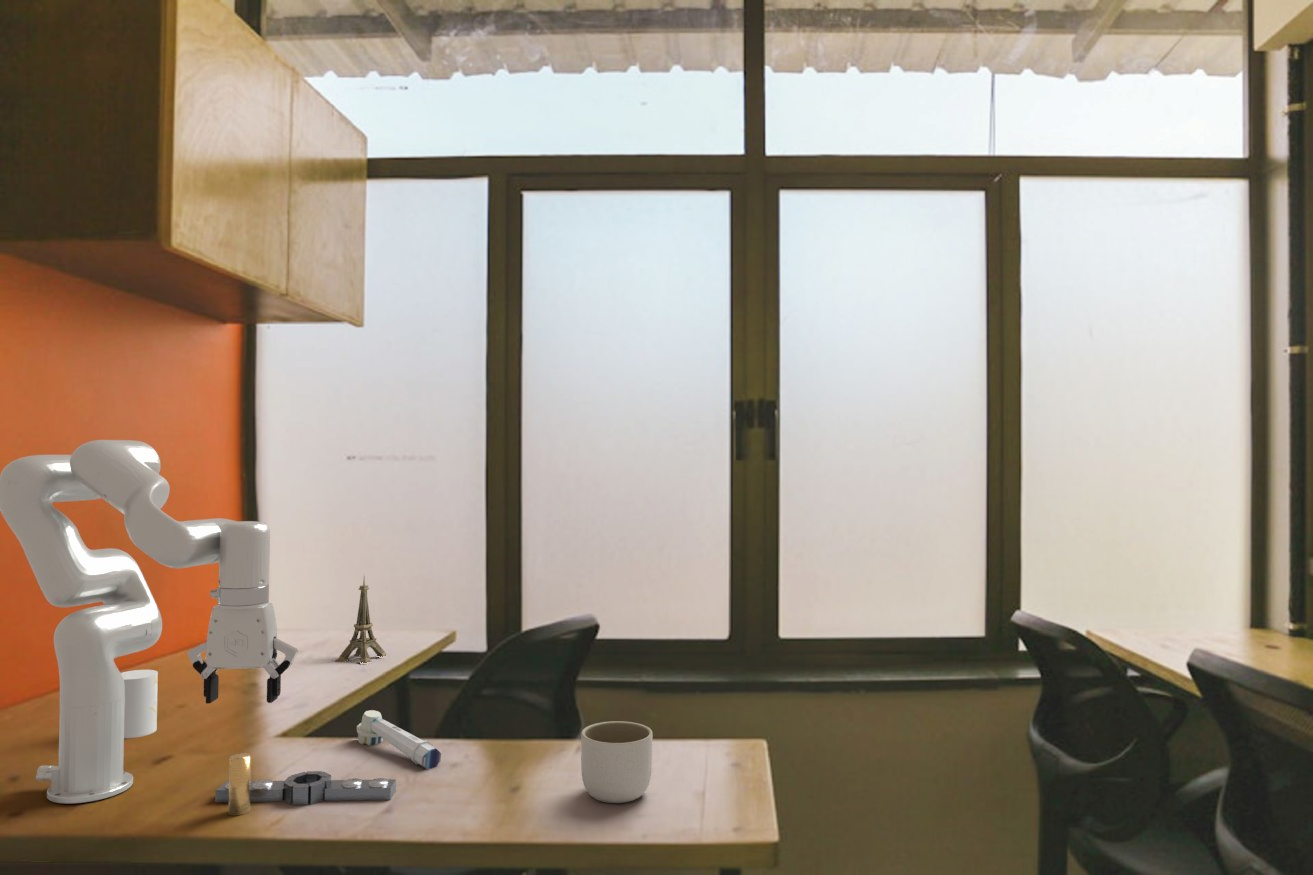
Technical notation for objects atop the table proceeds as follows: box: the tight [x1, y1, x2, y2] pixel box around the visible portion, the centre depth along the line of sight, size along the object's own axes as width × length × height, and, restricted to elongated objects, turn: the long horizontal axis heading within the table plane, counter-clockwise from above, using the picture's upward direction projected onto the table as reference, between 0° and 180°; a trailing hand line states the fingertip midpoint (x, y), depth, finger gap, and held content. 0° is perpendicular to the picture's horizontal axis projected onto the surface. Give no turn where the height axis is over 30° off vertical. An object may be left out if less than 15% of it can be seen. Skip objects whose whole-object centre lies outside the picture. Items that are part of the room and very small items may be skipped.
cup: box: [120, 669, 159, 739], centre depth 184 cm, size 8×8×12 cm
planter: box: [580, 720, 654, 804], centre depth 154 cm, size 12×12×11 cm
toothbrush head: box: [356, 709, 442, 770], centre depth 174 cm, size 5×7×25 cm
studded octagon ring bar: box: [214, 770, 397, 806], centre depth 151 cm, size 29×7×3 cm, turn 94°
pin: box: [227, 752, 252, 817], centre depth 145 cm, size 3×3×9 cm
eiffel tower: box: [334, 575, 387, 663], centre depth 250 cm, size 11×11×25 cm
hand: (242, 700), depth 145 cm, fingers open, 9 cm apart
